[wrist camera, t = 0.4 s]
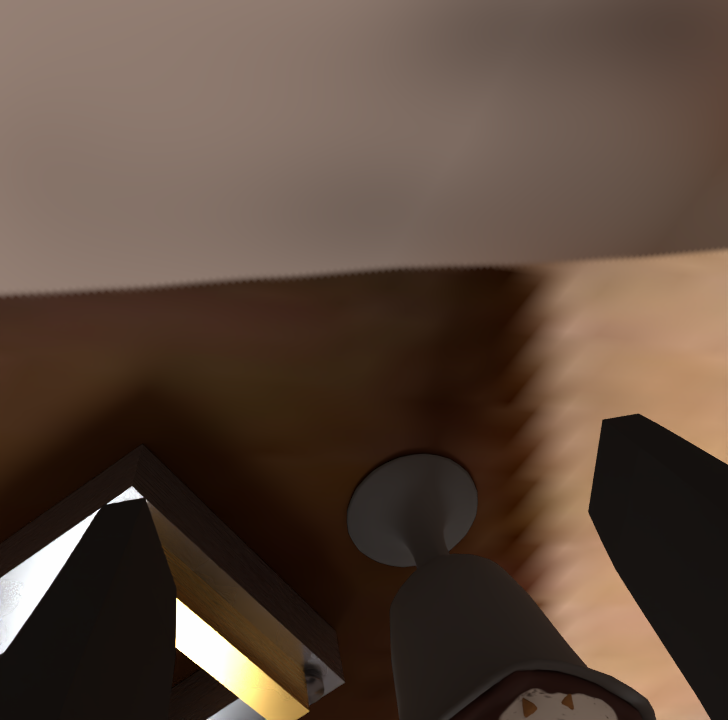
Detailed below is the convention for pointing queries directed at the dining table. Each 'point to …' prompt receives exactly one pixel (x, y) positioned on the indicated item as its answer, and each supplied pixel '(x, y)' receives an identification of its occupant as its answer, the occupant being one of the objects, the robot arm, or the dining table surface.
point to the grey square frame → (191, 598)
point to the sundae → (468, 612)
